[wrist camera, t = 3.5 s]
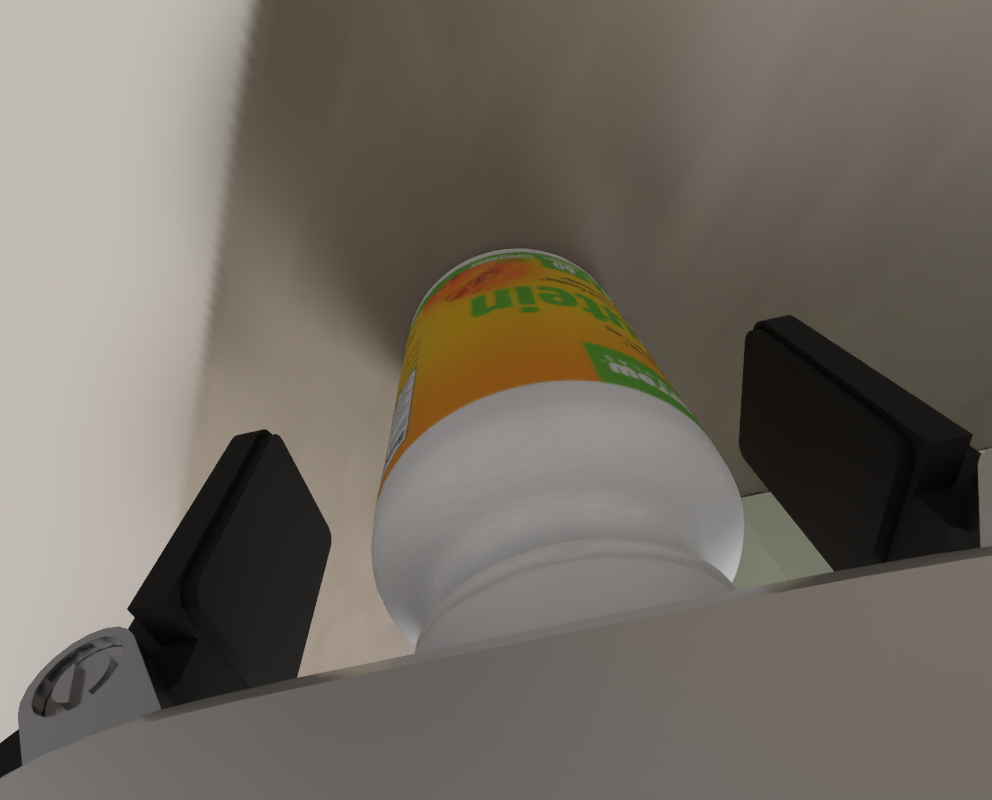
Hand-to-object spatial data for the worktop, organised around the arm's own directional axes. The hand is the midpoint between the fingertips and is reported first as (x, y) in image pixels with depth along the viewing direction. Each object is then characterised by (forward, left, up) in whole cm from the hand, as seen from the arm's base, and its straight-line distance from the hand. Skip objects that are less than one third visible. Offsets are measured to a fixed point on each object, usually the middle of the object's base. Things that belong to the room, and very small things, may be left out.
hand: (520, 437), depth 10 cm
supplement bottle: (0, 0, -4) cm, 4 cm away
